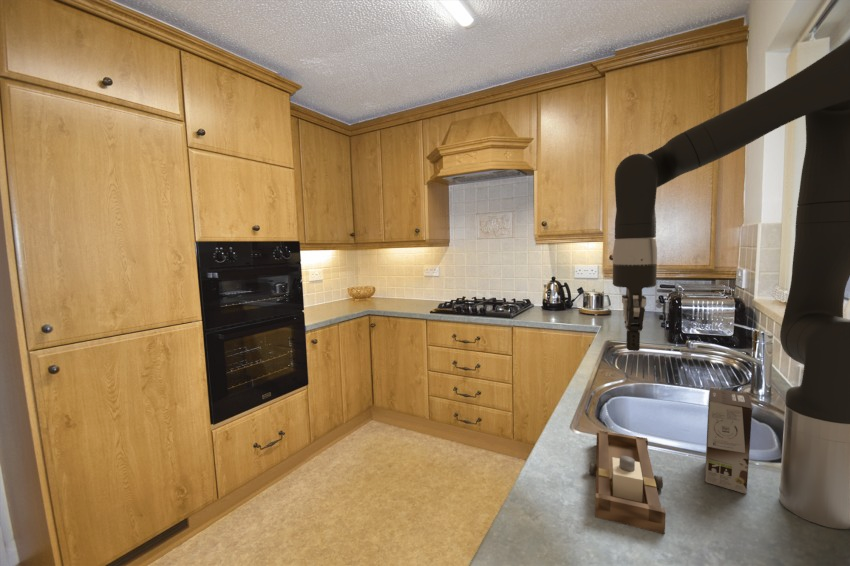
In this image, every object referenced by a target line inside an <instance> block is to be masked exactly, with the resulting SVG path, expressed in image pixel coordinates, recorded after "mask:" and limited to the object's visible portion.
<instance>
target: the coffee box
mask: <svg viewBox="0 0 850 566" xmlns="http://www.w3.org/2000/svg"><path fill="white" fill-rule="evenodd" d="M708 393H709V394H708V407H707V409H708V410H707V425H706V446H705V447H706V448H705V450H706V452H705V476H704V477H705V478H704V480H705V483H707V484H711V485H713V486H716V487H717V486H718V487H721V488H724V489H728V490H731V491H735V492H737V493H741V494H747V491H748V476H749V463H750V447H751V436H752V435H751V431H752V416H753V405H752V402H751V398H750V394H749V393H745V392H741V391H734V390H727V389H726V390H725V389H718V388H714V387H713V388H711V387H709V392H708Z"/></svg>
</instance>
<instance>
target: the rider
mask: <svg viewBox="0 0 850 566" xmlns="http://www.w3.org/2000/svg"><path fill="white" fill-rule="evenodd" d="M612 489H613V496H615V497H620V498H624V499H629V500H633V501H638V502H642V495H643V477H642V472H641V467H640V462H636V461H635V460H634V459H633V458H631V457H628V456H621V457H620V458H614V457H612Z"/></svg>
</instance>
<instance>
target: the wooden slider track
mask: <svg viewBox="0 0 850 566" xmlns="http://www.w3.org/2000/svg"><path fill="white" fill-rule="evenodd" d="M648 444H649V439H648V438H647V437H642V436H637V435H636V436H635V435H628V434H623V433H617V432H612V431H611V432H610V431H604V430H598V429H596V445H595V446H596V451H595V452H596V454H595V455H596V456H595V458H596V459H595V463H591V462H589V466H588V467H589V468H588V469H589V471H588V472H589V473H588V474H589V475H594V476H595V499H594V500H595V501H594V502H595V503H594V504H595V505H594V506H595V509H594V510H595V511H594V517H595V518H598V519H602V520H606V521H610V522H615V523H619V524H623V525H626V526H631V527H635V528H640V529H642V530H643V529H644V530H647V531H651V532H656V533H659V534H664V535H665V534H666V517H667V516H666V510H665V509H666V508H665V507H662V505H661V502H660V497H659V492H658V489H663V488H664V487H663V486H664V483H663V482H664V481H663V476H660V475H656V474H655V475H654V471H653V466H652V462H651V457H650V454H649V450H648ZM621 456H628V457H631V458H633V459H634V460H635V461H636V462H640V467H641V472H642V477H643V495H642V502H638V501H633V500H629V499H624V498H620V497H615V496H613V489H612V457H614V458H620V457H621Z"/></svg>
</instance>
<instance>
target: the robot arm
mask: <svg viewBox="0 0 850 566" xmlns="http://www.w3.org/2000/svg"><path fill="white" fill-rule="evenodd" d="M802 117H804V118H805V119H804V120H805V153H804V157H803V161H802V162H803V163H802V168H801V173H800V174H801V175H800V183H799V192H798V198H797V206H796V216H795V228H794V230H795V231H794V232H795V234H794V236H795V237H794V247H793V256H792V265H791V277H790V278H791V279H790V280H791V281H790V286H789V291H788V296H787V300H786V304H785V305H786V306H785V308H784V313H783V317H782V320H781V321H782V322H781V326H780V332H779V333H780V334H779V339H780V340H779V341H780V345H781V347H782V349H783V351H784V352H785V353H786V355H787V356H788V357H789V358H790V359H792V360H794V361H795V362H798V363H800V364H801V365H803V371H802V379H801V384H800V385H796V386H792V387H790V388H789V389H787V391H786V393H785V400H784V401H785V404H784V416H783V417H784V419H783V432H782V433H783V435H782V448H781V449H782V450H781V451H782V452H781V464H780V480H779V493H778V494H779V495H778V496H779V497H778V498H779V499H778V500H779V503H781V505H782V506H783V507H784V508H785V509H786V510H787V511H790V512H791V513H793V514H795V516H798V517H799V518H802V519H804V520H806V521H808V522H812V523H814V524H817V525H820V526H823V527H826V528H832V529H839V530H849V529H850V319H849V318H845V317H844V303H845V292H846V287H847V285H848V281H849V280H850V39H847V40H846V41H844V42H843V43H841V44H839V45H838V46H836V47H835V48H833V49H832V50H831V51H829V52H827V53H826V54H825V55H824V56H822V57H821V58H819V59H817V60H816V61H815V62H813V63H811V64H809V66H807V67H806V68H803V69H801V70H800V71H798V72H797V73H795V74H793V75H792V76H791V77H789V78H787V79H785V80H783V81H782V82H780V83H778V84H776V85H775V86H773V87H770V88H769V89H767V90H766V91H764V92H762V93H760V94H758V95H756V96H754V97H752V98H750V99H748V100H746V101H744V102H742V103H740V104H739V105H736V106H734V107H731V108H729V109H728V110H725V111H723V112H722V113H719V114H717V115H715V116H713V117H711V118H709V119H707V120H705V121H703V122H701V123H699V124H697V125H694V126H693V127H691V128H689V129H687V130H684V131H683V132H680V133H678V134H677V135H675V136H674V137H671V139H669V140H668V141H667V142H666V143H665V144H663V145H661V146H660V147H659V148H656V149H655V150H652V151H650V152H649V153H647V154H644V153H634V154H630V155H628V156H626V157H625V158H624V159H622V160H621V161H620V162H619V164H618V165H617V166H616V168H615V172H614V193H615V194H614V196H615V209H616V210H615V211H616V212H615V219H614V220H615V221H614V243H613V250H612V285H613V286H614V287H617V288H625V289H626V290H625V294H622V295H621V303H622V306H623V307H622V308H623V309H622V316H623V318H624V324H625V326H624V328H625V330H626V340H625V341H626V342H625V345H626V349H627V351H631V352H632V351H633V352H638V351H640V345H641V338H640V337H641V332H642V330H643V329H644V326H643V324H644V320H645V312H646V309H645V307H646V306H647V297H646V296H645V295H643V289H645V288H647V289H649V288H654V287H656V286H657V269H658V264H657V262H658V247H657V216H656V215H657V214H656V202H657V201H656V200H657V189H658V188H659V187H661V186H664V185H665V184H667V183H668V182H670V181H672V180H674V179H676V178H678V177H680V176H681V175H683V174H684V175H685V174H686V173H689V172H692V171H695V170H697V169H700V168H702V167H703V166H706V165H708V164H710V163H712V162H714V161H717V160H720V159H721V158H724V157H726V156H728V155H730V154H731V153H734V152H736V151H738V150H740V149H742V148H744V147H746V146H747V145H748V144H752V143H753V142H754V141H757V140H758V139H761V137H764V136H766V135H767V134H769V133H771V132H772V131H775V130H777V129H778V128H781V127H783V126H785V125H787V124H789V123H792V122H794V121H795V120H798V119H800V118H802Z"/></svg>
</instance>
